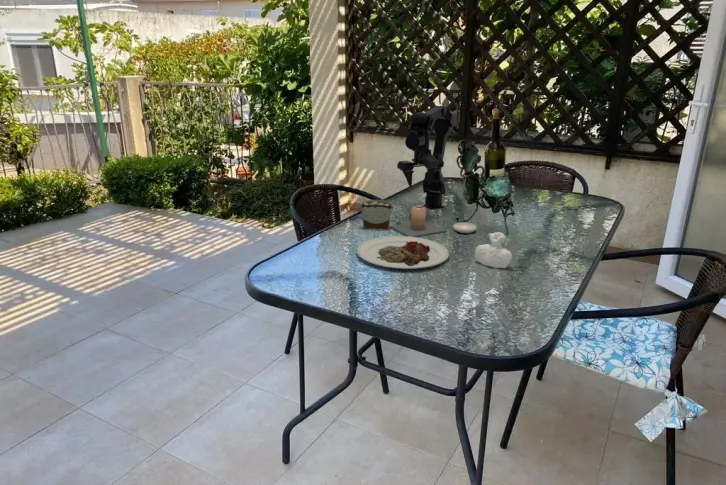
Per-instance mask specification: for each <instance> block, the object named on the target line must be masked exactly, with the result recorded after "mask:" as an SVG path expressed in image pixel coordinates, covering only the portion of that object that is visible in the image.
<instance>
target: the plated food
mask: <svg viewBox="0 0 726 485" xmlns="http://www.w3.org/2000/svg"><path fill="white" fill-rule="evenodd" d="M356 254H357V255H358V257H359V258H360V259H362V260H363V261H364V262H367V263H369V264H371V265H372V264H373V265H375V266H379V267H385V268H392V269H401V270H402V269H403V270H404V269H406V270H408V269H410V270H412V269H416V270H417V269H423V268H425V269H426V268H430V267H434V266H437V265H438V266H439V265H441V264H442V263H444V262H445V261H446V260H447V259H448V258H449V256H450V252H449V249H448V248H447V247H446V246H444V245H443V244H441V243H439V242H436V241H434V240H432V239H431V240H430V239H428V238H422V237H409V236H405V235H389V236H388V235H387V236H381V237H380V236H379V237H375V238H371V239H368V240H366V241H363V242H362V243H360V244H359V245H358V246H357V247H356Z"/></svg>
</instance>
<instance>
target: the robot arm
mask: <svg viewBox="0 0 726 485" xmlns="http://www.w3.org/2000/svg"><path fill="white" fill-rule="evenodd" d="M455 123H456V120H455V118H454V115H453V113H451V112H450V111H449V110H448V109H447V107H446V106H445V105H434V106H433V107H432V108H430V109H429V110H427V111H425V112H415V114H414V115H413V116H412V118H411V122H410V126H409V129H408V132H410V134H409V135H407V136H406V137H405V141H404V143H405V146H406V148H407V149H409V150H412V152H413V153H414V154H413V158H412V159H411V161H409V160H399V161H398V163H397V165H396V166H397V167H396V168H397V169H398V170H400V171H402V173H403V175H404V177H405V179H406V182H407V185H408V187H409V188H412V185H413V174H414V172H415V170H414V168H419V167H425V169H426V172H424V178H423V179H422V180H423V181H422V191H423V193H424V194H425V198H424V199H425V200H424V204H423V206H424V207H426V208H428V209H430V210H434V209H440V208H444V207H445V206H444V205H442V204H443V202H442V200H443V195H446V193H447V192H446V191H447V186H446V185H445V182H444V180H445V178H444V175H443V172H442V169H443V167H444V165H445V161H444V157H445V152H446V150H445V149H446V146H447V139H448V137H449V136H450V135H451V133H452V132H453V128H454V127H455ZM432 130H433V131H434V134H435V140H434V145H433V146H434V147H433V151H432V149H430V140H431V137H430V136H431V131H432ZM444 168H445V167H444Z"/></svg>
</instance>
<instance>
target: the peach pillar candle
mask: <svg viewBox="0 0 726 485" xmlns="http://www.w3.org/2000/svg"><path fill="white" fill-rule="evenodd" d="M426 212H427V207H426V206H424V205H421V204H417V205H412V207H411V216H410V217H411V218H410V219H411V220H410V221H411V222H410V223H411V229H413V230H424V229H425V221H426V214H427V213H426Z"/></svg>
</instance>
